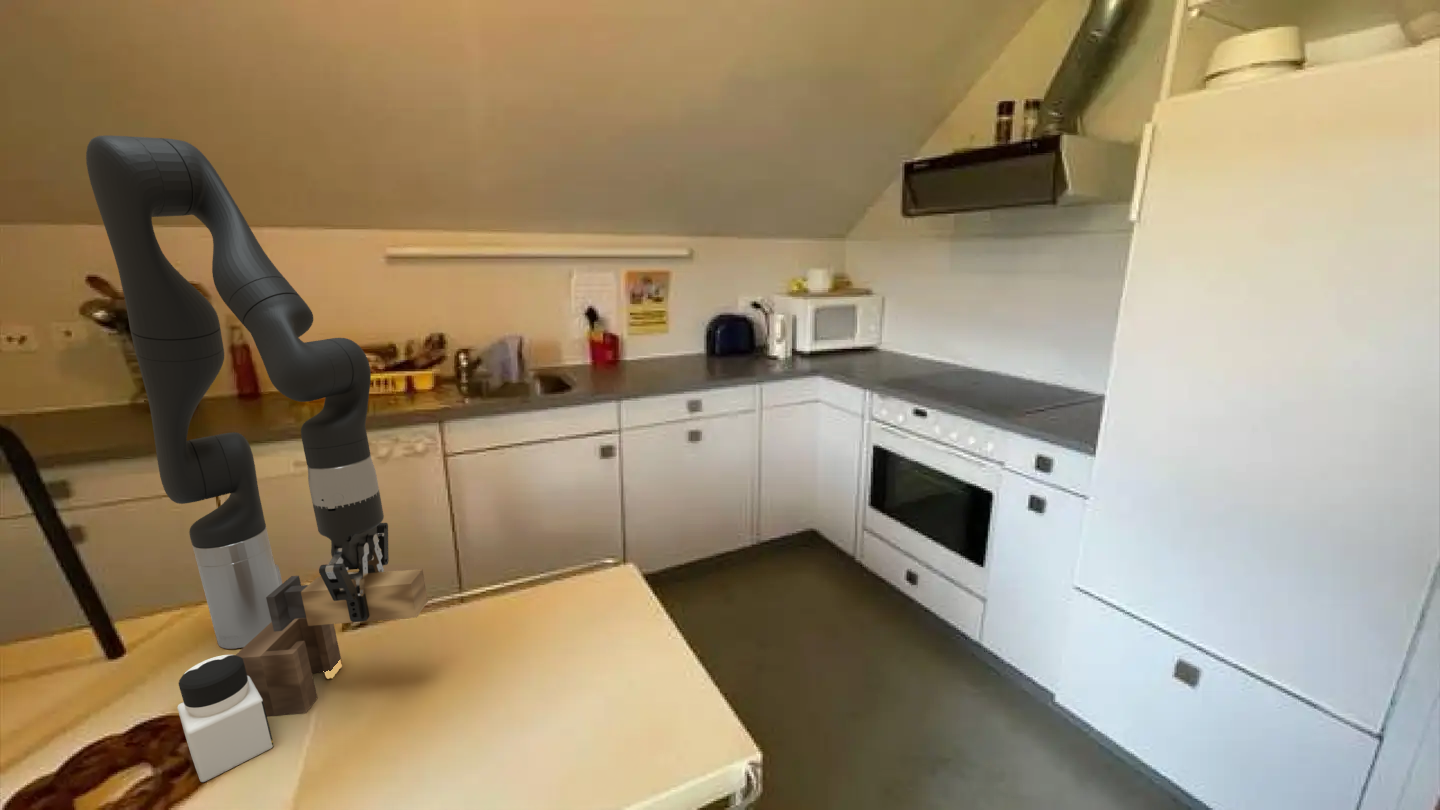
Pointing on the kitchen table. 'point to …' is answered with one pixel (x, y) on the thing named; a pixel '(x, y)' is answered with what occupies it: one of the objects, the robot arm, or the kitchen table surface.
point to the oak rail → (383, 593)
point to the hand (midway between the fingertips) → (368, 610)
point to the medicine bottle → (222, 715)
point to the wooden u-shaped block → (290, 664)
